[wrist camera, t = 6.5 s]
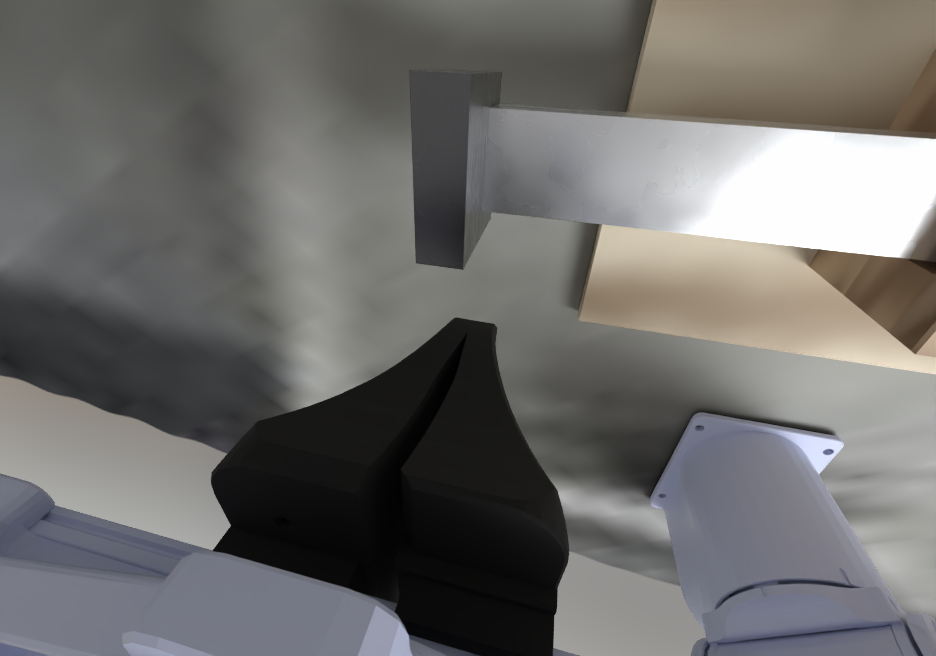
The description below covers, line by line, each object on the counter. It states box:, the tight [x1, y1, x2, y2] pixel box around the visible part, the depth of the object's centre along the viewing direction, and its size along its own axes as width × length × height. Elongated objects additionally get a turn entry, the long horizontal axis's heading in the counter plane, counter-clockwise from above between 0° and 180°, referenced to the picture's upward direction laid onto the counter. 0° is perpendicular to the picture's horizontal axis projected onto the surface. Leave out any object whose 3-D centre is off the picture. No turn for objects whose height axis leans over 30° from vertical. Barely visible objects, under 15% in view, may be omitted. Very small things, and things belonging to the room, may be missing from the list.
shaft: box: [410, 70, 936, 270], centre depth 11 cm, size 5×20×5 cm, turn 87°
